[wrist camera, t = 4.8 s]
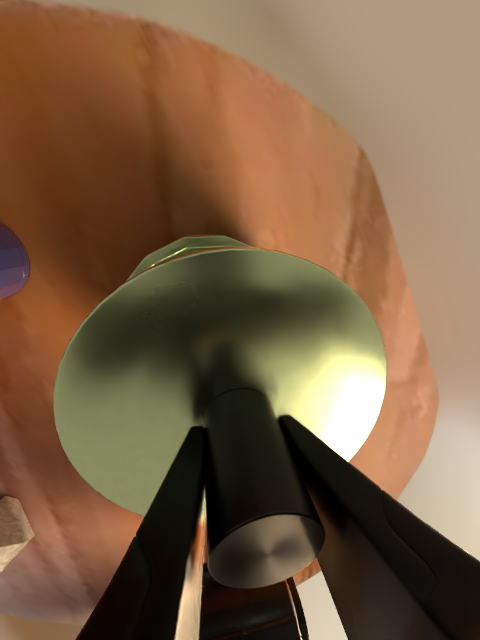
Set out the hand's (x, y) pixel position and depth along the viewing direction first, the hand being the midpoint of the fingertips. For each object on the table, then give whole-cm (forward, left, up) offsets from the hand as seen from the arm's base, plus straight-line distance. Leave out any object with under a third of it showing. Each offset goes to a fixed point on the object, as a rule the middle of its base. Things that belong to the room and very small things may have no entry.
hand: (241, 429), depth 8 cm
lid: (0, 0, -1) cm, 1 cm away
